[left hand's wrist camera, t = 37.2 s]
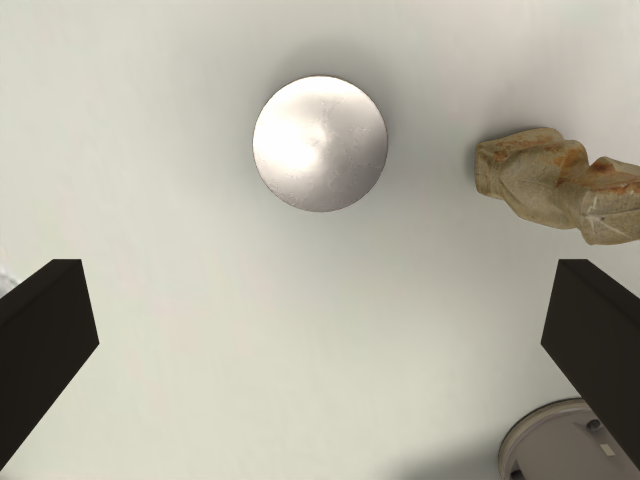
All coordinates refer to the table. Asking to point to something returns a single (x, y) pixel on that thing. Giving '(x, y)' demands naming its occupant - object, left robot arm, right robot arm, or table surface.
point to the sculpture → (561, 185)
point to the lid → (320, 143)
